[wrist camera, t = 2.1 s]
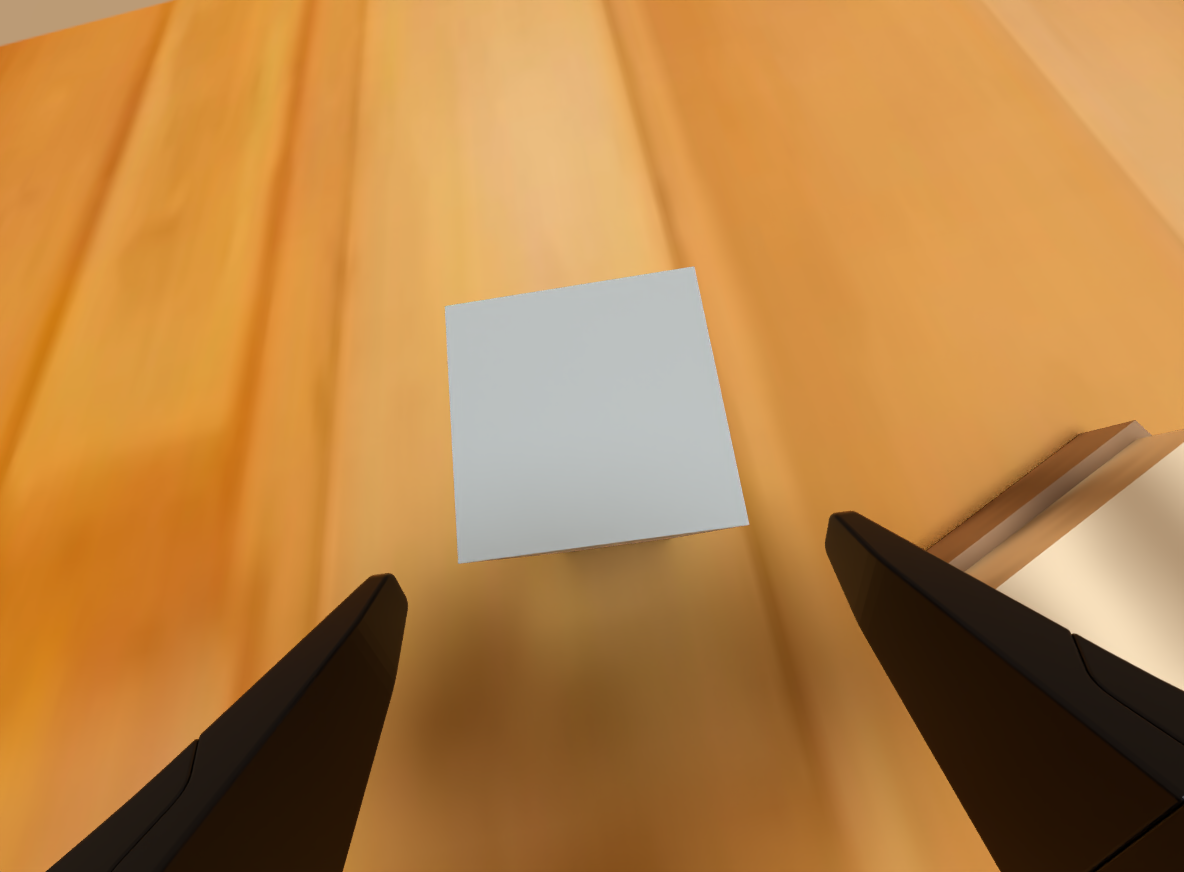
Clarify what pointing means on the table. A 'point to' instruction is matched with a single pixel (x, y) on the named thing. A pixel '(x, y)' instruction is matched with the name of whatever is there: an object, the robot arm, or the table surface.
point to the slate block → (587, 419)
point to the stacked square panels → (1093, 544)
